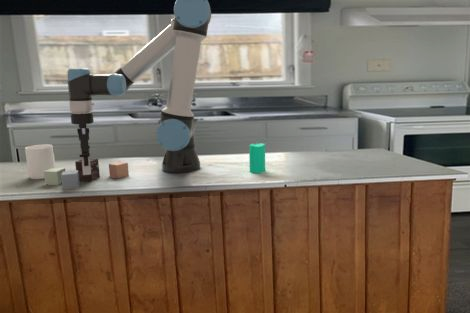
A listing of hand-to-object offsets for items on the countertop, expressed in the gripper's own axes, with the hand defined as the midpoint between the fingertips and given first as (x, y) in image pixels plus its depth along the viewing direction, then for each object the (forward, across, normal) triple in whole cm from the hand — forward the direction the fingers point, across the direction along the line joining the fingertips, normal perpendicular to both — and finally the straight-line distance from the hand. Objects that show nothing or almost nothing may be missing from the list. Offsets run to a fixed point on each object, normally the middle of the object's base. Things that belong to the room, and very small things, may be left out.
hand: (86, 170), depth 150 cm
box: (+4, 0, 0) cm, 4 cm away
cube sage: (+4, 0, +10) cm, 11 cm away
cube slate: (+4, -7, +5) cm, 10 cm away
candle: (+2, -17, -61) cm, 64 cm away
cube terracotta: (+3, 0, -12) cm, 12 cm away
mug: (+4, +14, +15) cm, 21 cm away
